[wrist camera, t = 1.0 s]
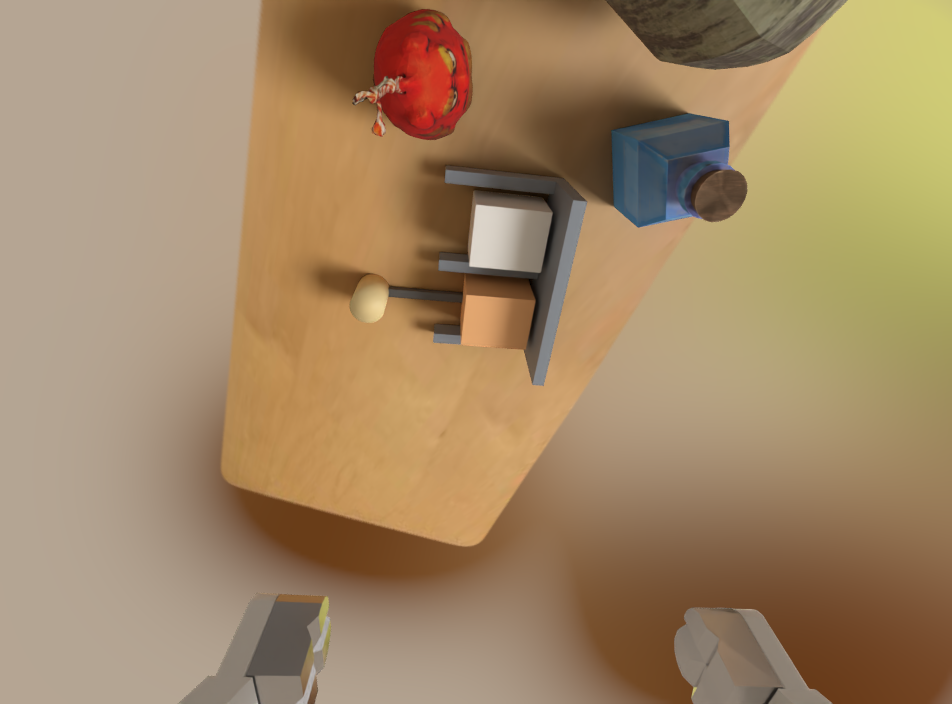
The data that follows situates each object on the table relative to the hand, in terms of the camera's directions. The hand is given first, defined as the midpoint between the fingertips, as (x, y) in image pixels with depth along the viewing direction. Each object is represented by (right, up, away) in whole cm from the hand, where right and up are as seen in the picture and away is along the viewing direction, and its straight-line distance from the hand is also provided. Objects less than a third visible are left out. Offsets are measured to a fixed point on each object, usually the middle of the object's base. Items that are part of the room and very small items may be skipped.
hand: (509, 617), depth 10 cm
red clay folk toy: (-5, +27, +24) cm, 36 cm away
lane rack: (+1, +14, +32) cm, 35 cm away
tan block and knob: (-4, +12, +33) cm, 35 cm away
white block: (+2, +18, +30) cm, 35 cm away
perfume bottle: (+14, +22, +28) cm, 38 cm away
